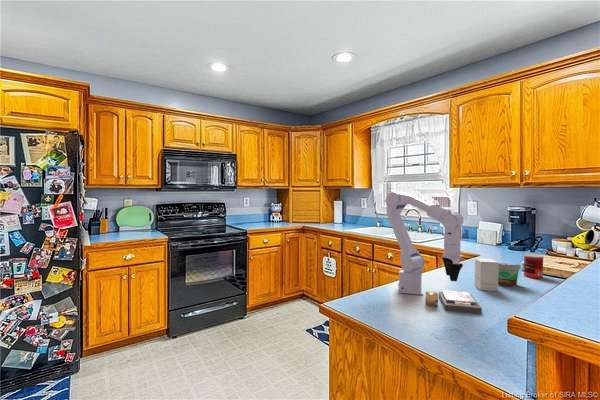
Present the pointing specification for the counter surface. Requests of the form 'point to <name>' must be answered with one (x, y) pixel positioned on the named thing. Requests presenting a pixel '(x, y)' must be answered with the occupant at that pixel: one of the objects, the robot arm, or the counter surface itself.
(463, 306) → the scale
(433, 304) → the cylinder
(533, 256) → the canned food
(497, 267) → the supplement box
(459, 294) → the platform
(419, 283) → the robot arm
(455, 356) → the counter surface
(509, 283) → the food container
